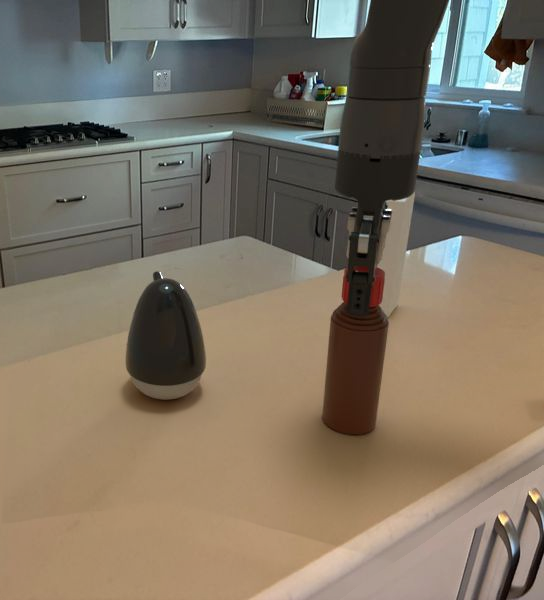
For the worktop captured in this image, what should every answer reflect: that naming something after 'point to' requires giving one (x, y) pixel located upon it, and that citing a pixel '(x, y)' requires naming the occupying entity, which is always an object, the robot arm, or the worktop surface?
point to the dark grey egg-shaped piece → (165, 341)
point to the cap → (376, 287)
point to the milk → (395, 251)
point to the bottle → (354, 370)
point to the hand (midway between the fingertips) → (359, 305)
